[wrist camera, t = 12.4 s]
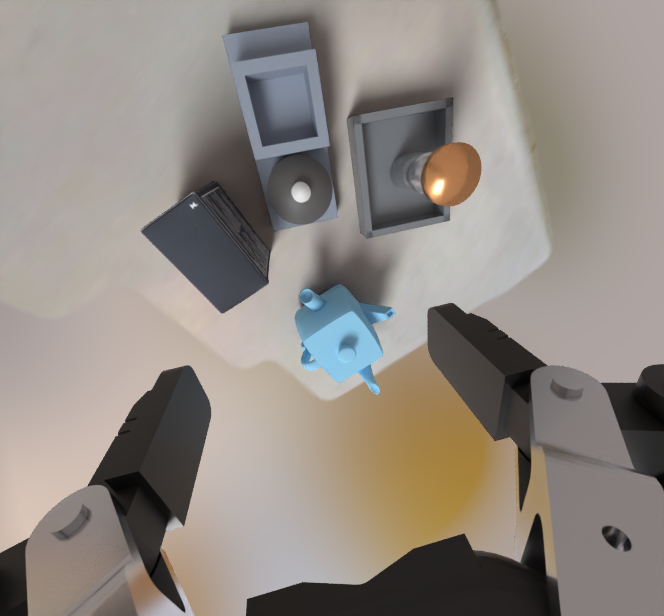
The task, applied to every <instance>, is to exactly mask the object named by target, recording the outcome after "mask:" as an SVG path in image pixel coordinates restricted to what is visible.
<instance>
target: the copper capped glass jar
mask: <svg viewBox="0 0 664 616" xmlns="http://www.w3.org/2000/svg"><path fill="white" fill-rule="evenodd" d="M480 175H481V160H480V157H479V155H478V153H477V151H476V150H475V149H474V148H473V147H472V146H470V145H469V144H466V143H460V142H458V143H448V144H444V145H442V146H440V147H438V148H437V149H435V150H434V151H433V152H418V153H404V154H401V155H399V156H398V157H397V158H396V159H395V160H394V161H393V163H392V165H391V167H390V179H391V181H392V183H393V184H394V185H395V186H396V187H397V188H400V189H404V190H409V191H413V192H417V193H422V194H424V195H425V196H426V197H427V199H428V200H430V201H431V202H433V203H435V204H439V205H442V206H454V205H457V204H460V203H462V202H463V201H465V200H466V199H467V198H468V197H469V196H470V195H471V194H472V193H473V191H474V190H475V188H476V187H477V185H478V182H479V179H480Z"/></svg>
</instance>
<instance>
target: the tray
mask: <svg viewBox="0 0 664 616" xmlns="http://www.w3.org/2000/svg"><path fill="white" fill-rule="evenodd" d="M452 120H453V98H447V99H442V100H437V101H431V102H426V103H420V104H415V105H409V106H404V107H399V108H393V109H388V110H382V111H377V112H372V113H366V114H361V115H355V116H352V117H350V118H348V119H347V126H348V134H349V142H350V151H351V159H352V167H353V176H354V184H355V192H356V201H357V209H358V217H359V225H360V233H361V234H362V235H363V236H364V237H366V238H372V237H376V236H381V235H386V234H390V233H395V232H399V231H404V230H409V229H413V228H418V227H422V226H427V225H432V224H436V223H441V222H445V221H450V206H442V205H439V204H435V203H433V202H431V201H430V200H428V199H427V197H426V196H425V195H424V194H422V193H417V192H413V191H409V190H404V189H400V188H397V187H396V186H395V185H394V184H393V183H392V181H391V179H390V167H391V165H392V163H393V161H394V160H395V159H396V158H397V157H398V156H399V155H401V154H404V153H418V152H433V151H434V150H435V149H437V148H438V147H440V146H442V145H444V144H448V143H452Z"/></svg>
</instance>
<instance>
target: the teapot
mask: <svg viewBox="0 0 664 616" xmlns="http://www.w3.org/2000/svg"><path fill="white" fill-rule="evenodd" d="M299 299H300V301H301V302H302V303H304V304H305V306H303V307H302V308H300V309H299V310H298V311H297V312H296V315H295V322H296V326H297V330H298V332H299V335H300V337H301V339H302V341H303V342H302V343H301V347H302V349H303V350H304V352H303V355H302V358H301V364H302V366H303V367H304V368H305V369H307V370H316V369H318V368H319V367H322V368H323V369H324V370H325V371H326V372H327V373H328V374H329V375H330V376H331V377H332V378H333V379H334V380H335V381H337V382H341V381H343V380H345V379H346V378H348V377H350V376H352V375H353V374H355V373H357V372H358V373H359V375H360V376H361V377H362V378H363V379H364V381H365V382H366V384H367V385H368V386H369V388H370V390H371V391H372V392H373V393H375V394H379V393H380V389H379V387H378V385H377V383H376V381H375V379H374V376H373V373H372V369H371V363H373V362H374V361H376V360H378V359H379V358H380V357H382V356H383V351H382V348H381V345H380V342H379V339H378V336H377V334H376V332H375V330H374V328H373V326H372V324H373V323H376V322H379V321H383V320H386V319H388V320H389V319H390V318H391V317H392V316H393V315H394V314H396V313H395V311H394V310H393V308H392V307H386V306H379V305H372V304H366V303H359V302H358V301H357V300H356V299H355V297H354V296H353V295H352V294H351V293H350V292H349V291H348V289H347V288H346V287H344V286H343V285H341V284H338V285H336V286H334V287H332V288H330V289H329V290H327V291H326V292H324V293H322V294H321V295H318V294H316V293H315V292H314V291H312V290H311V289H308V288H307V289H303V290H302V291H301V292H300V295H299ZM311 355H312V356H313V357H314V360H313V361H311V362H309V360H310V357H311Z"/></svg>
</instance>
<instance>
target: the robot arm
mask: <svg viewBox="0 0 664 616" xmlns="http://www.w3.org/2000/svg"><path fill="white" fill-rule="evenodd" d="M428 350H429V353H430V356H431V358H432V360H433V362H434V363H435V365H436V366H437V367H438V369H439V370H440V371H441V372H442V374H443V375H444V376H445V378H446V379H447V380H448V381H449V383H450V384H451V385H452V386H453V388H454V389H455V390H456V392H457V393H458V394H459V396H460V397H461V398H462V399H463V401H464V402H465V403H466V405H467V406H468V407H469V408H470V410H471V411H472V412H473V414H474V415H475V416H476V417H477V419H478V420H479V421H480V423H481V424H482V425H483V426H484V428H485V429H486V430H487V432H488V433H489V434H490V435H491V437H492V438H493V439H494V441H497V440H501V439H504V438H508V437H511V439H512V440H513V441H514V442H515V443H516V448H515V475H516V477H515V478H516V530H515V539H514V557H513V559H511V558H508V557H504V556H501V555H498V554H495V553H490V552H484V551H475V550H472V548H471V546H470V544H469V542H468V540H467V538H466V536H465V534H461V535H458V536H454V537H451V538H448V539H444V540H441V541H438V542H435V543H431V544H428V545H425V546H421V547H418V548H415V549H413V550H411V551H410V552H408V553H407V554H406V555H404V556H403V557H401V558H400V559H399V560H397V561H396V562H395V563H393V564H392V565H390V566H389V567H387V568H386V569H385V570H383V571H382V572H380V573H379V574H378V575H377V576H375V577H373V578H372V579H371V580H369V581H368V582H366V583H364V584H361V585H349V584H328V583H306V582H302V583H299V584H296V585H292V586H289V587H286V588H282V589H279V590H276V591H272V592H269V593H266V594H263V595H259V596H256V597H253V598H249V599H247V609H246V616H664V364H660V365H652V366H648V367H646V368H645V369H644V370H643V371H642V373H641V375H640V377H639V379H638V382H637V383H599V382H598V381H597V380H596V379H594V378H593V377H591V376H590V375H588V374H586V373H584V372H581V371H579V370H576V369H572V368H569V367H564V366H547V365H546V364H545V363H543V362H542V361H541V360H539V359H538V358H537V357H535V356H534V355H533V354H532V353H530V352H529V351H527V350H526V349H525V348H523V347H522V346H521V345H519V344H518V343H517V342H516V341H514V340H513V339H512V338H509V337H508V335H507V334H505V333H504V332H503V331H501V330H499V329H498V328H497V327H496V326H495V325H493V324H492V323H491V322H489V321H488V320H487V319H484V318H482V317H479V316H476V315H474V314H472V313H470V314H466V313H465V312H464V311H462V310H461V309H460V308H459V307H457V306H456V305H455V304H453V303H448V304H444V305H440V306H436V307H432V308H429V310H428ZM210 419H211V407H210V402H209V400H208V397H207V395H206V393H205V392H204V390H203V388H202V386H201V384H200V382H199V380H198V378H197V376H196V374H195V372H194V370H193V369H192V367H190V366H188V365H187V366H183V367H179V368H174V369H170V370H166V371H163V372H162V373H161V374H160V376H159V378H158V379H157V381H156V383H155V385H154V387H153V389H152V390H151V391H147V392H146V393H145V394H144V395H143V397H141V398H140V400H138V401H137V403H136V404H135V405H134V406H133V407H132V409H131V411H130V413H129V414H128V416H127V418H126V420H125V423H123V425H122V427H121V428H120V430H119V432H118V436H116V437H115V439H114V441H113V442H112V444H111V446H110V448H109V449H108V451H107V453H106V454H105V456H104V458H103V460H102V461H101V463H100V465H99V467H98V468H97V470H96V472H95V474H94V475H93V477H92V479H91V481H90V482H89V484H88V486H87V487H85V488H83V489H80V490H78V491H76V492H74V493H73V494H71V495H69V496H68V497H66V498H65V499H63V500H62V501H61V502H60V503H58V504H57V505H56V506H55V507H53V508H52V509H51V510H50V511H49V512H48V513H47V514H46V515H45V516H44V518H43V519H42V520H41V521H40V522H39V524H38V525H37V526H36V528H35V529H34V531H33V532H32V534H31V536H30V538H28V539H26V540H24V541H22V542H21V543H18V544H16V545H15V546H13V547H11V548H9V549H7V550H5V551H3V552H2V553H0V616H195V615H194V613H193V611H192V609H191V607H190V605H189V602H188V600H187V598H186V596H185V594H184V591H183V589H182V587H181V585H180V583H179V580H178V578H177V576H176V574H175V572H174V569H173V567H172V565H171V563H170V561H169V559H168V556H167V554H166V552H165V550H164V549H163V548H162V547H161V545H162V541H163V538H164V534H165V532H167V531H170V530H174V529H177V528H181V527H184V524H185V520H186V516H187V512H188V508H189V504H190V500H191V496H192V492H193V488H194V483H195V480H196V475H197V472H198V467H199V464H200V460H201V456H202V452H203V447H204V443H205V439H206V435H207V431H208V427H209V423H210Z"/></svg>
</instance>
